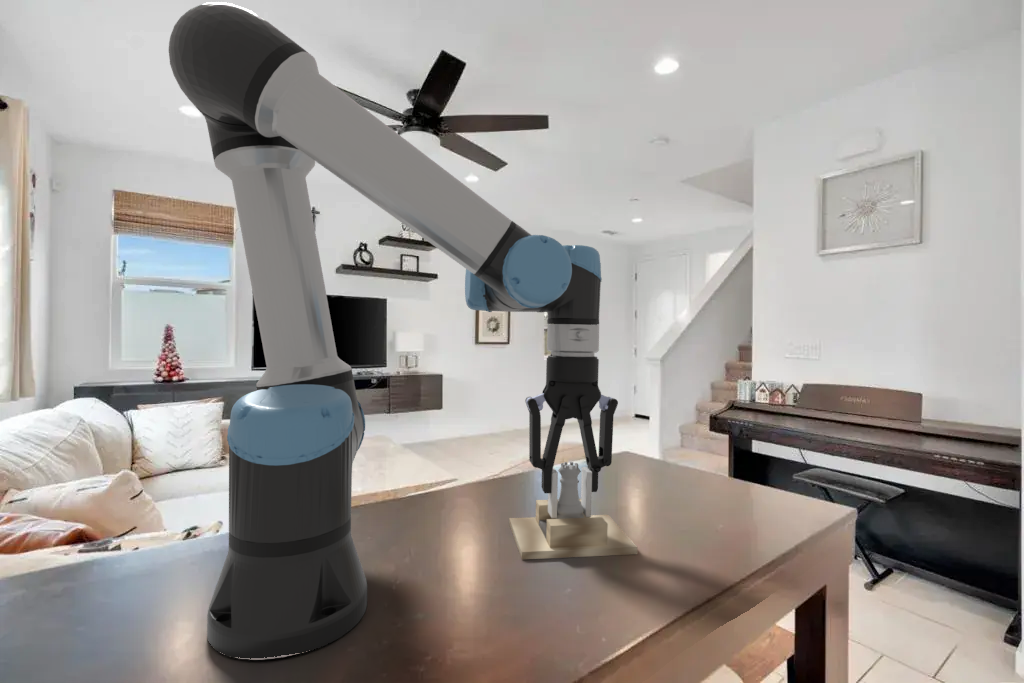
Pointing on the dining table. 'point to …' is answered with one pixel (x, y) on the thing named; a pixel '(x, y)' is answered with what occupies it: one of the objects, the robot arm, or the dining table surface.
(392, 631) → the dining table surface
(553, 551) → the birch mount
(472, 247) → the robot arm
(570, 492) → the rook chess piece
